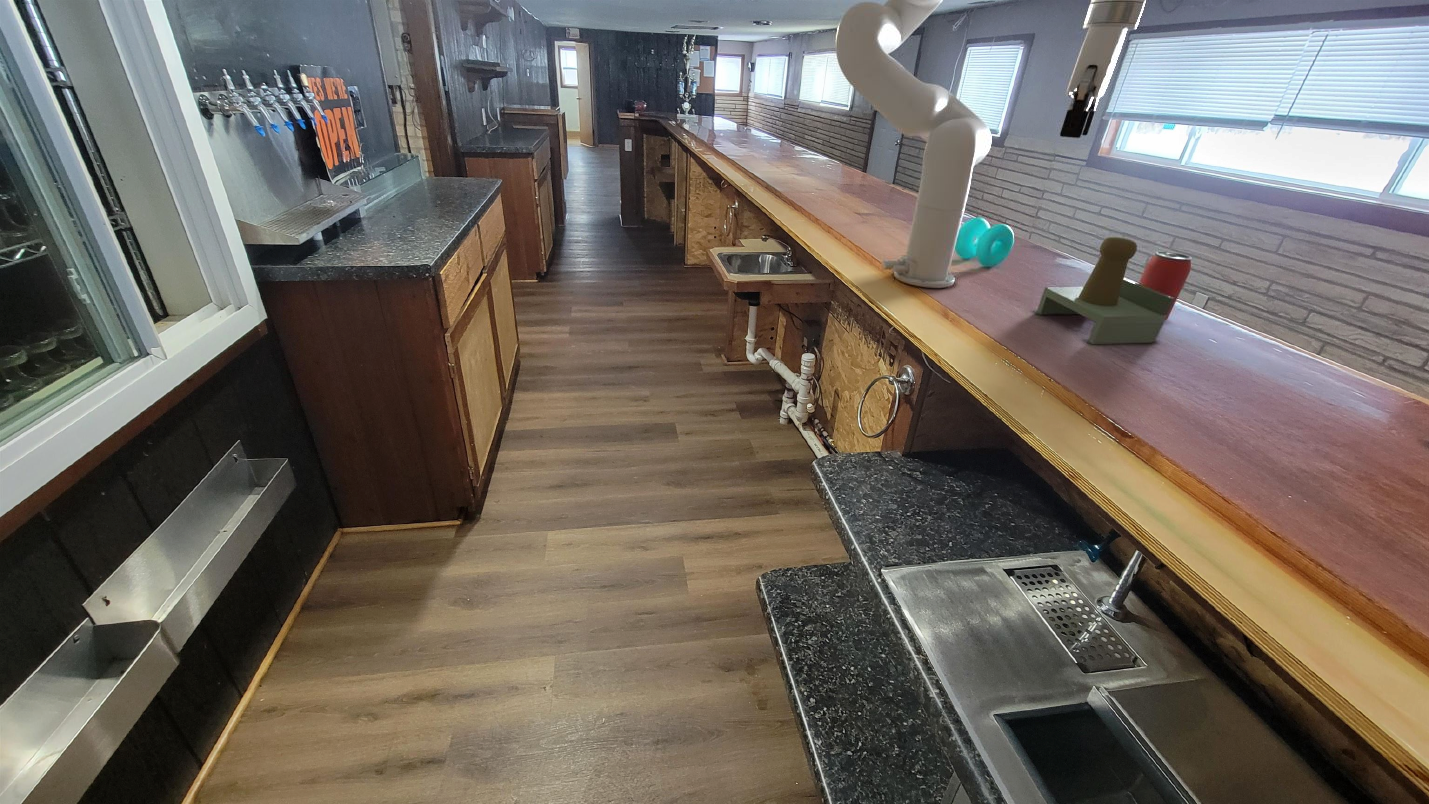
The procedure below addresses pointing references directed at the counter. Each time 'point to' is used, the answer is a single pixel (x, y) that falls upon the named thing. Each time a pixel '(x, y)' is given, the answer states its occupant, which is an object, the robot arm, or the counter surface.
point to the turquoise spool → (984, 241)
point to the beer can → (1167, 274)
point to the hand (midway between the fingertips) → (1073, 136)
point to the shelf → (1113, 312)
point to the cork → (1109, 272)
